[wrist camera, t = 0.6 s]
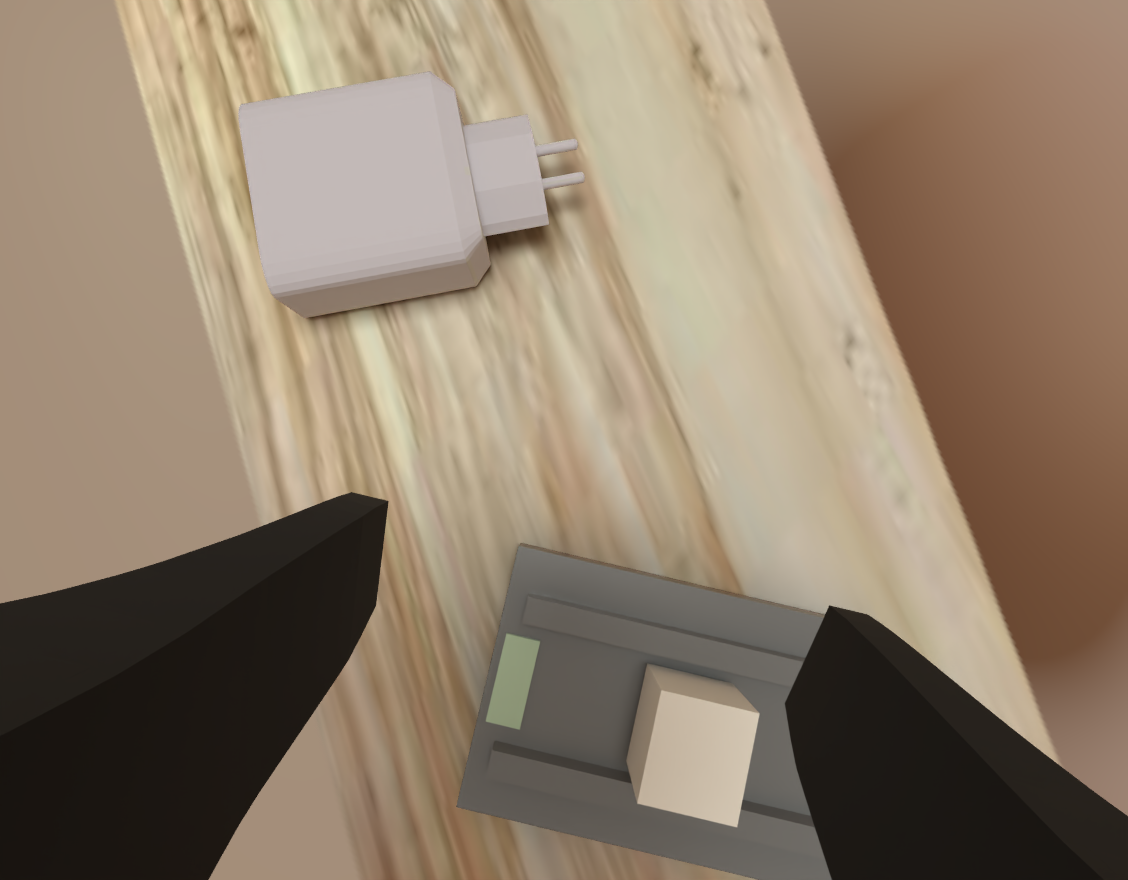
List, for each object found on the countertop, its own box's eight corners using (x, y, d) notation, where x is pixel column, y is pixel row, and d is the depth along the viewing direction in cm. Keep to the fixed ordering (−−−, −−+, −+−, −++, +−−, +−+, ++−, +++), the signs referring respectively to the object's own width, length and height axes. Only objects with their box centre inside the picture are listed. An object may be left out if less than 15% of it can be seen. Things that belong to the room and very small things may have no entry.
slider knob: (712, 781, 26) (737, 827, 23) (626, 760, 26) (637, 803, 23) (732, 683, 27) (759, 713, 23) (647, 663, 27) (661, 689, 23)
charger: (596, 270, 30) (310, 323, 30) (561, 105, 31) (282, 154, 31) (603, 229, 26) (264, 291, 25) (563, 36, 26) (232, 93, 26)
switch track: (829, 878, 28) (856, 916, 25) (461, 790, 28) (452, 819, 25) (875, 626, 29) (905, 639, 26) (520, 542, 29) (517, 547, 26)
